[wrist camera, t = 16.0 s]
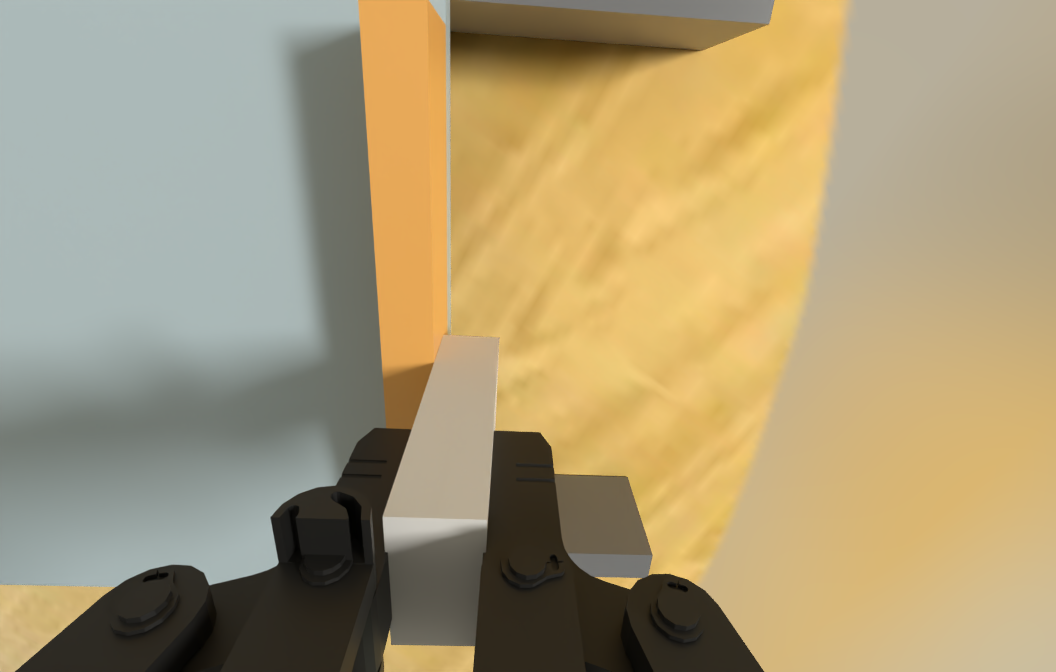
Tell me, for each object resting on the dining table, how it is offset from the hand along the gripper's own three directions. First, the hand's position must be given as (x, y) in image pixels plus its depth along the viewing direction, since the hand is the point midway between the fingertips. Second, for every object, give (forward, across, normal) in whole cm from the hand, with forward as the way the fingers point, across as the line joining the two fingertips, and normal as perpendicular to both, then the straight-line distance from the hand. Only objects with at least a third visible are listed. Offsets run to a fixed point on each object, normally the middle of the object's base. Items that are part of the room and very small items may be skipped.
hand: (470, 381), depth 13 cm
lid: (+2, -10, 0) cm, 10 cm away
